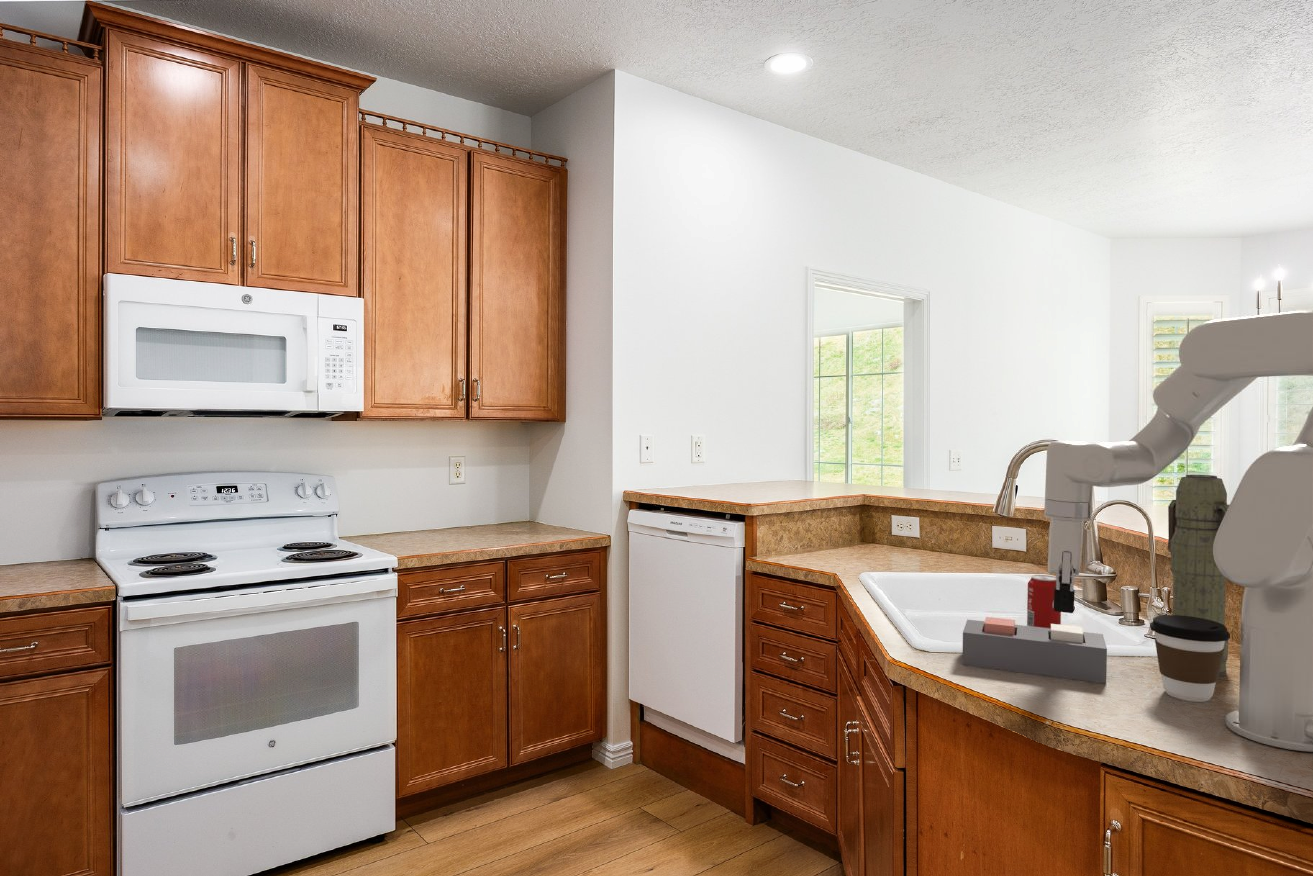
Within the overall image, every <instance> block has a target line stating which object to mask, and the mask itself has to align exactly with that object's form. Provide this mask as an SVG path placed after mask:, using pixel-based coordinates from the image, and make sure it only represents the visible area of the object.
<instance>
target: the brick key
mask: <svg viewBox="0 0 1313 876" xmlns="http://www.w3.org/2000/svg"><path fill="white" fill-rule="evenodd" d="M984 621H985V623H984V632H990V633H999V634H1008V635H1015V625H1016V620H1015V619H1010V618H1001V617H992V616H991V617H990V616H986V617H985V619H984Z"/></svg>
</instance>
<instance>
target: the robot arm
mask: <svg viewBox="0 0 1313 876" xmlns="http://www.w3.org/2000/svg"><path fill="white" fill-rule="evenodd" d="M1178 358H1179V359H1178V360H1179V362H1180V365H1179V366H1178V367H1177V368H1176V369H1175V370H1173V372H1172V373H1170V374H1169V375H1168V376H1166V378H1164V380H1163V381H1162V382H1160V383H1159V384H1158V385H1157V386H1156V387H1155V388H1154V390H1153V393H1152V398H1153V401H1154V403H1155V405H1156V406H1157V410H1156V412H1155V414H1154V416H1152V419H1151V420H1150V421H1149V422H1148V423H1147V425H1146V426H1144V427H1143V428H1142V429H1141V430H1140V431H1139V432H1138V433H1136V434H1135V435H1134V436H1133V437H1132V438H1130V439H1129V440H1127V441H1115V442H1114V441H1113V442H1112V441H1111V442H1095V443H1089V442H1086V441H1079V440H1078V441H1077V440H1055V441H1052V442H1050V443H1049V444H1048V446H1047V448H1046V460H1045V461H1046V463H1045V465H1046V466H1045V485H1044V486H1045V488H1044V490H1045V491H1044V513H1043V517H1044V518H1047V519H1050V521H1049V530H1048V531H1049V532H1048V547H1047V548H1048V549H1047V551H1048V554H1047V572H1048V574H1050V575H1053V573H1056V574H1055V575H1056V576H1055V577H1056V587H1054V611H1057V612H1061V613H1066V614H1073V613H1074V611H1075V593H1076V591H1075V588H1074V585H1075V582H1074V581H1075V578H1076V577H1078V576H1079V575H1080V568H1081V563H1082V562H1081V561H1082V554H1083V543H1084V541H1083V540H1084V538H1083V537H1084V524H1085V523H1084V522H1089V521H1092V512H1093V510H1092V509H1093V492H1094V491H1093V490H1094V487H1098V488H1115V487H1123V486H1136V485H1141V484H1143V483H1147V482H1148V481H1150V480H1152V479H1153V478H1155V477H1156V476H1157V475H1159V474H1160V473H1161V472H1163V471H1164V470H1165V469H1167V468H1168V467H1169V466H1170V465H1171V464H1173V463H1174V462H1175V461H1176V460H1177V459H1179V457H1181V456H1182V455H1183V454H1184V453H1185V451H1186V450H1187V449H1188V448H1189V447H1190V445H1191V444H1192V442H1193V441H1194V439H1195V437H1197V434H1198V433H1199V430H1200V428H1201V426H1202V425H1204V423H1206V422H1207V421H1208V420H1209V419H1210V418H1211V417H1213V416H1214V415H1215V414H1216V413H1217V412H1218V411H1219V410H1220V409H1222V408H1223V407H1224V406H1225V405H1227V404H1228V403H1229V402H1230V401H1231V400H1232V399H1234V398H1235V397H1236V396H1237V395H1238V394H1239V393H1241V392H1242V391H1243V390H1244V389H1246V388H1247V387H1248V386H1249V385H1250V384H1252V383H1253V382H1254V381H1255V380H1256V379H1258V378H1264V377H1267V378H1268V377H1284V376H1285V377H1286V376H1289V377H1290V376H1309V377H1310V376H1311V377H1313V310H1296V311H1288V312H1287V311H1286V312H1280V313H1269V314H1260V315H1254V316H1251V315H1250V316H1245V317H1244V316H1242V317H1234V318H1233V317H1232V318H1231V317H1230V318H1222V319H1213V320H1209V321H1205V322H1202V323H1200V324H1198V325H1197V326H1195V327H1194V328H1192V329H1190V331H1188V332H1187V333H1186V334H1185V335H1184V337H1183V338H1182V340H1181V342H1180V345H1179V349H1178ZM1311 407H1312V408H1310V411H1309V412H1308V415H1307V417H1306V420H1305V422H1304V424H1303V426H1302V429H1300V432H1299V434H1298V436H1297V438H1296V439H1295V441H1294V442H1293V444H1292V445H1290V446H1289V445H1287V446H1281V447H1278V448H1273V449H1272V450H1269V451H1267V452H1264V453H1263V454H1261V455H1260V456H1259V457H1257V458H1256V459H1255V460H1254V461H1253V462H1252V464H1250V465H1249V467H1248V468H1247V470H1245V472H1244V475H1243V476H1242V478H1241V480H1240V483H1239V484H1238V487H1237V488H1236V490H1235V493H1234V494H1233V497H1232V499H1231V502H1230V503H1229V504H1228V505H1229V507H1228V510H1227V512H1226V514H1225V516H1224V518H1223V520H1222V522H1221V525H1220V527H1219V529H1218V531H1217V534H1216V537H1215V540H1214V545H1213V555H1214V560H1215V563H1216V565H1217V567H1218V569H1219V570H1220V572H1221V573H1222V574H1223V575H1224V576H1225V577H1226V578H1227V579H1228V580H1229V581H1230V582H1232V583H1234V584H1235V585H1238V586H1241V587H1244V590H1243V595H1242V600H1241V601H1242V604H1241V621H1240V647H1239V648H1240V655H1239V656H1240V657H1239V692H1238V693H1239V694H1238V710H1235V711H1231V712H1228V713H1227V714H1226V716H1225V725H1226V726H1227V727H1228V729H1230V730H1231V731H1232V732H1233V733H1236V734H1237V735H1239V736H1241V737H1243V738H1246V739H1248V740H1251V741H1254V742H1257V743H1259V744H1264V745H1266V746H1271V747H1275V748H1280V749H1285V750H1290V751H1291V750H1292V751H1297V752H1298V751H1300V752H1311V753H1312V752H1313V406H1311ZM1227 579H1226V580H1227Z"/></svg>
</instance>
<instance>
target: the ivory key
mask: <svg viewBox="0 0 1313 876" xmlns="http://www.w3.org/2000/svg"><path fill="white" fill-rule="evenodd" d="M1083 632H1084V630H1083V627H1082V626H1079V625H1078V626H1077V625H1069V624H1068V625H1066V624H1061V625H1059V624H1051V639H1052V640H1061V641H1070V642H1079V643H1083Z"/></svg>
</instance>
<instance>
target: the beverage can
mask: <svg viewBox="0 0 1313 876" xmlns="http://www.w3.org/2000/svg"><path fill="white" fill-rule="evenodd" d="M1030 578H1031V579H1030V580H1028V582H1027V598H1026V601H1027V604H1026V605H1027V607H1026V610H1027V613H1026V616H1027V617H1026V626H1032V627H1042V628H1051V624H1059V625H1062V623H1061V622H1062V618H1061V617H1062V612H1057V611H1054V587H1056V576H1053V575H1049V574H1048V575H1047V574H1033V575H1031V576H1030Z"/></svg>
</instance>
